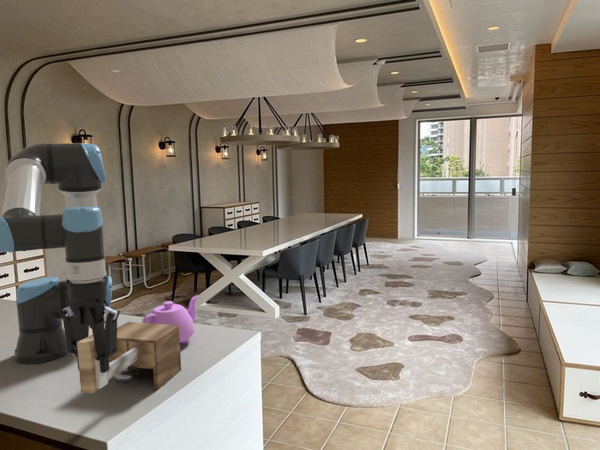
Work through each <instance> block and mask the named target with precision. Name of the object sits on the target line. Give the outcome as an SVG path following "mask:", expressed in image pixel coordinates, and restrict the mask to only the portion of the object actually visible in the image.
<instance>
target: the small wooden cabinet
mask: <svg viewBox="0 0 600 450" xmlns="http://www.w3.org/2000/svg"><path fill="white" fill-rule="evenodd" d="M133 348H137V357H138V360H137V361H135V362H134V363H132V364H131V365H129V366H130V367H137V368H138V369H147V370H153V385H154V387H153V388H154V390H158V391H159V390H160V389H161V388H162V387H164V386H165V385H166V384H167V383H168V382H169V381H170V380H171V379H173V378H174V377H175V376H176V375H177V374H178V373H180V371H182V362H181V359H182V357H181V343H180V337H179V325H167V324H152V323H142V322H137V321H135V322H133V321H127V322H126V323H124V324H122V325H120V326H117V352H115V353H114V354H112V355H111V356H109V363H110V362H112V361H113V360H115V359H117V358H118V357H120V356H121V355H123V354H125V353H126V352H128V351H129V350H131V349H133Z"/></svg>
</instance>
